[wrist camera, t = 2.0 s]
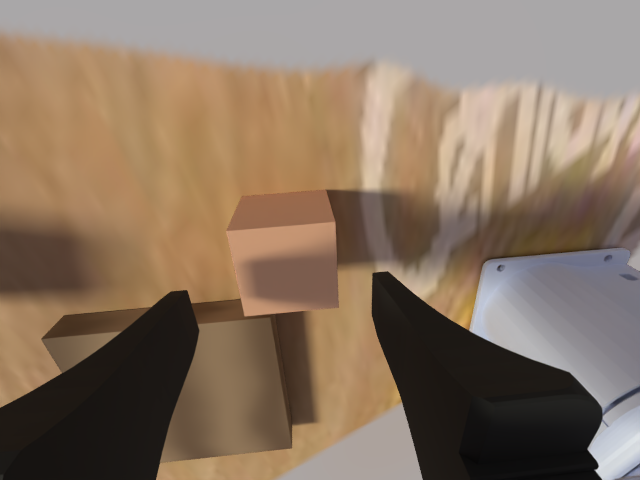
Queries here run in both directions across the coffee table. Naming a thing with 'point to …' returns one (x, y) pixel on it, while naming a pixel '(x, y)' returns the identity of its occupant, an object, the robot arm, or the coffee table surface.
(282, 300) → the terracotta block
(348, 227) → the coffee table surface
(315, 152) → the coffee table surface
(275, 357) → the walnut base
